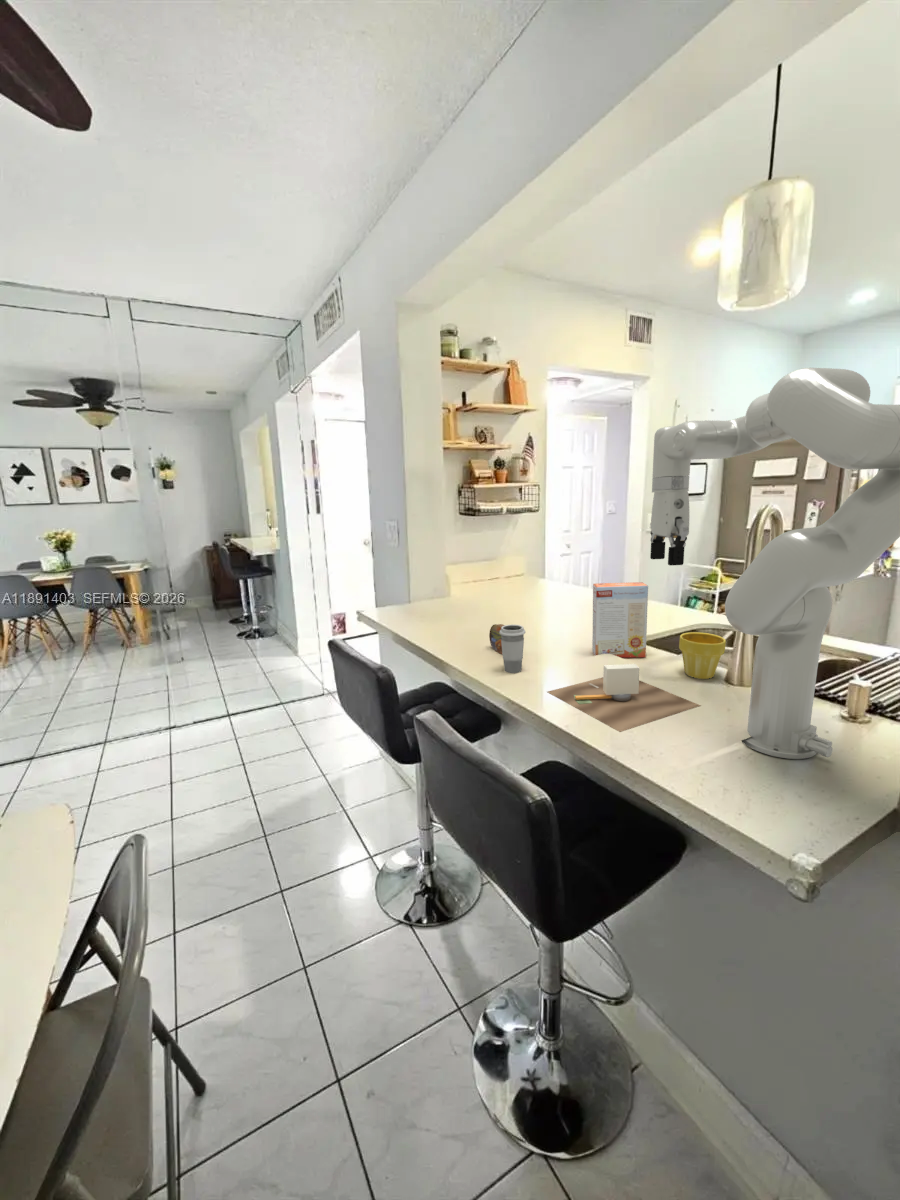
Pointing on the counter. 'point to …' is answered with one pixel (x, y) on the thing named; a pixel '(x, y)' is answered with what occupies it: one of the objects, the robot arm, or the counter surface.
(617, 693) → the knob
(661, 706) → the dial board
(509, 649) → the cup
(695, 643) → the plant pot
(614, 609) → the cracker box
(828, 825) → the counter surface
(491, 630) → the tin
